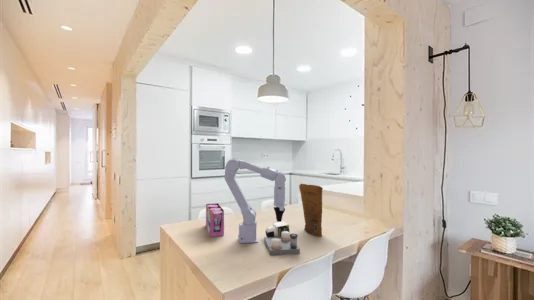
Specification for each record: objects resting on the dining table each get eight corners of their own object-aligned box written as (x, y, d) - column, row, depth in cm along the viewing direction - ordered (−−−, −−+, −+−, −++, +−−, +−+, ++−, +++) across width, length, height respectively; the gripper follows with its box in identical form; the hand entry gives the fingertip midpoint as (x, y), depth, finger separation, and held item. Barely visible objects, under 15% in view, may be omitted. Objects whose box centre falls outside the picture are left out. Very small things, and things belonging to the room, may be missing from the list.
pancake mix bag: (317, 238, 142) (317, 186, 142) (297, 228, 159) (298, 182, 159) (326, 236, 145) (327, 186, 145) (306, 227, 162) (307, 182, 162)
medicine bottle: (290, 237, 141) (269, 242, 137) (285, 233, 147) (265, 237, 144) (289, 224, 140) (268, 228, 137) (284, 221, 147) (264, 225, 143)
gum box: (224, 236, 143) (225, 211, 143) (210, 237, 141) (210, 212, 141) (218, 224, 166) (218, 203, 166) (205, 225, 164) (205, 203, 164)
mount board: (270, 254, 119) (270, 249, 119) (264, 241, 137) (264, 236, 137) (299, 253, 121) (299, 248, 121) (290, 240, 139) (290, 235, 139)
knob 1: (272, 248, 121) (272, 241, 121) (270, 244, 125) (270, 238, 125) (281, 247, 122) (281, 241, 122) (279, 244, 126) (279, 238, 126)
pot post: (290, 249, 121) (290, 236, 121) (288, 246, 124) (289, 233, 124) (298, 248, 121) (298, 235, 121) (296, 246, 125) (296, 233, 125)
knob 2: (282, 240, 132) (282, 234, 132) (280, 237, 136) (280, 231, 136) (290, 239, 133) (290, 233, 133) (288, 236, 137) (288, 231, 137)
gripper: (290, 197, 131) (289, 225, 131) (284, 193, 145) (283, 217, 145) (276, 198, 130) (275, 225, 130) (271, 193, 144) (271, 217, 144)
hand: (279, 221), depth 138 cm, fingers closed
